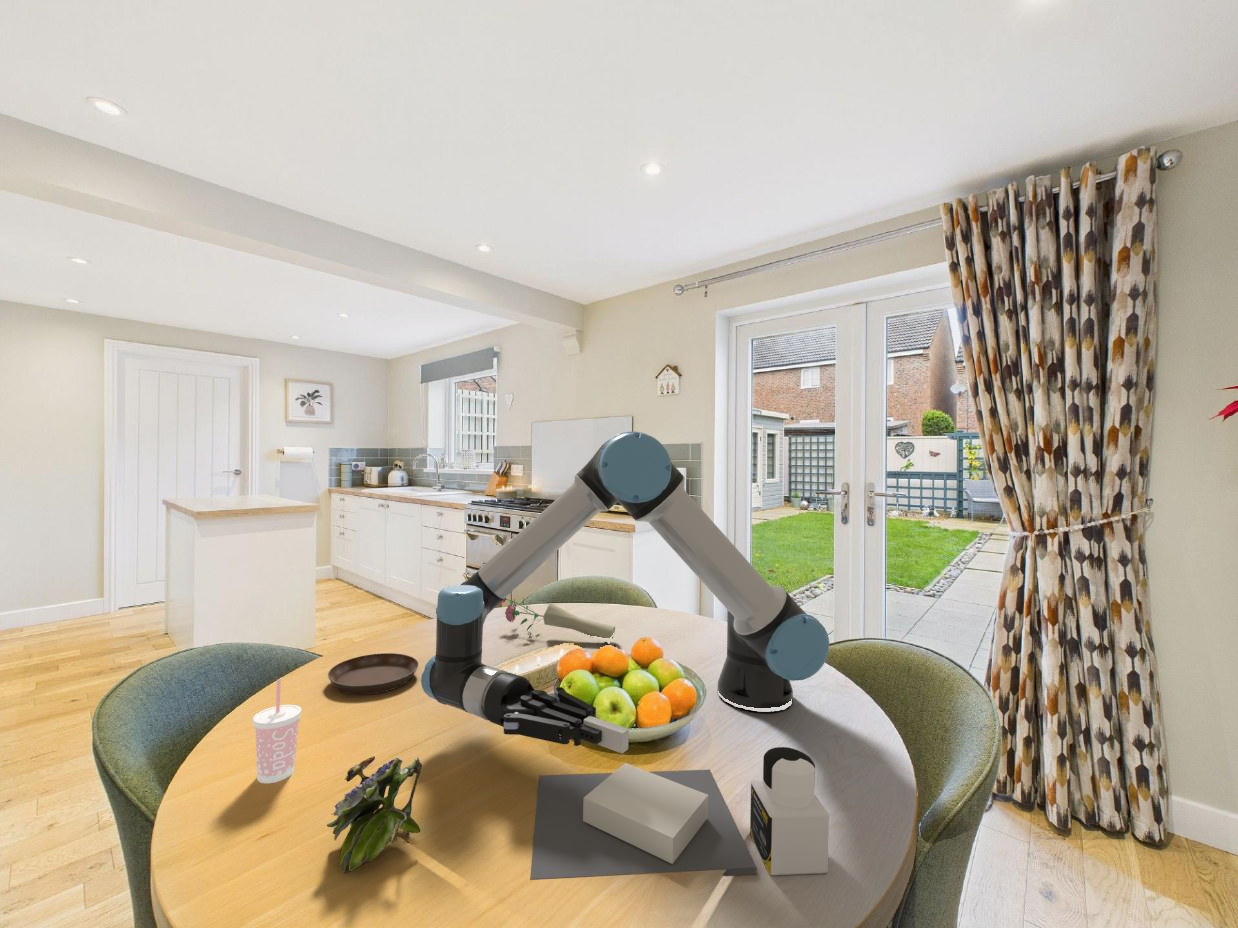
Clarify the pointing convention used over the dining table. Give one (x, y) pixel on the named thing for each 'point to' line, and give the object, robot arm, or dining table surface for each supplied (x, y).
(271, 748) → the beverage cup
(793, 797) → the medicine bottle
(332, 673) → the plant saucer
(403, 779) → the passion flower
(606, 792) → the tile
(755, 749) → the dining table surface
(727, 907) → the dining table surface
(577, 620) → the flower vase
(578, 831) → the mat
